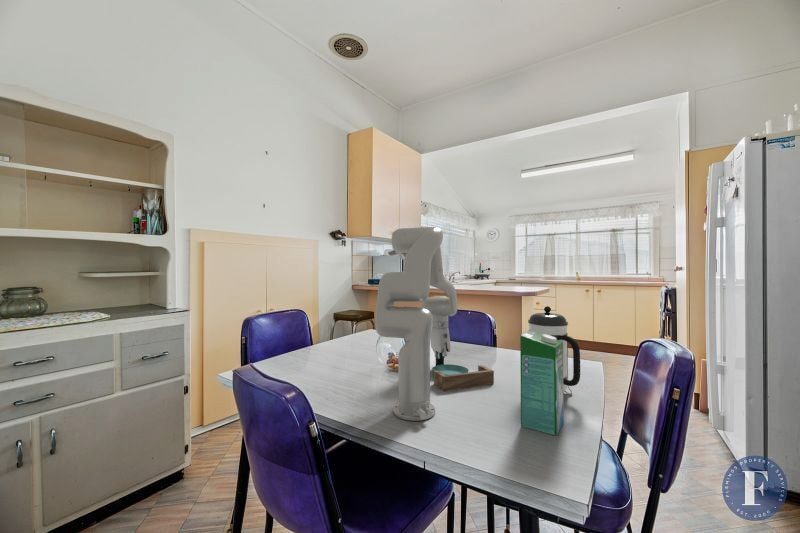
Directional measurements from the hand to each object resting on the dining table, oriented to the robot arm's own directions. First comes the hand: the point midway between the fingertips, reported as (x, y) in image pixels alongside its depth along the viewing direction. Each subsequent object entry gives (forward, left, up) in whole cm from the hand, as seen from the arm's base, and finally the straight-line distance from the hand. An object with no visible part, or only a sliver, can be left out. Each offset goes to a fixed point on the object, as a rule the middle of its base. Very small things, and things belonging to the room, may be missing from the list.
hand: (439, 367), depth 143 cm
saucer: (-9, 0, -1) cm, 9 cm away
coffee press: (-38, -24, -1) cm, 45 cm away
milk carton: (-56, -3, -1) cm, 56 cm away
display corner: (-20, 0, -1) cm, 20 cm away
